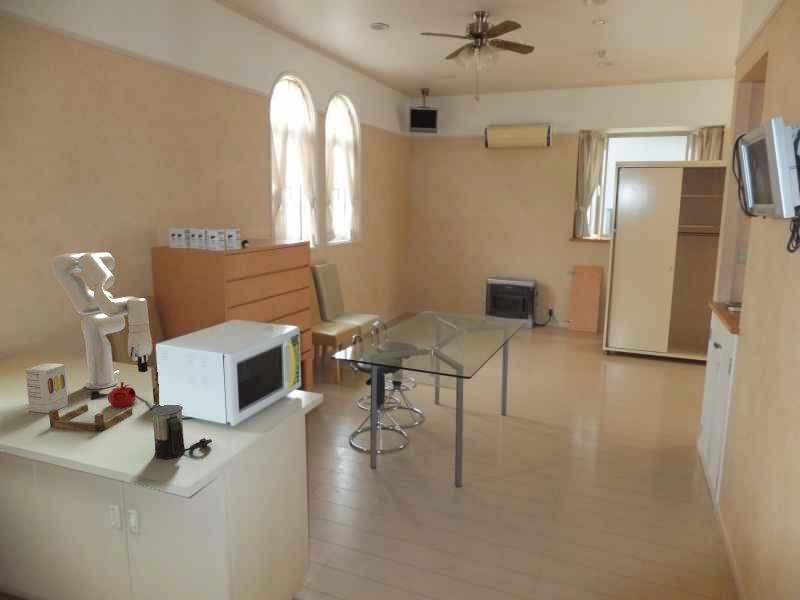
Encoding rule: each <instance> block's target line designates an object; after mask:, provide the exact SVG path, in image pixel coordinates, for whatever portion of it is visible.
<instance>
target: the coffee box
mask: <svg viewBox="0 0 800 600" xmlns="http://www.w3.org/2000/svg"><path fill="white" fill-rule="evenodd" d="M150 373H151V383H152V384H151V386H152V397H153V405H154V404H155V405H154V406H156V405H159V384H158V372H157V364H155V365H152V366H150Z"/></svg>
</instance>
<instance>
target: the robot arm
mask: <svg viewBox="0 0 800 600" xmlns="http://www.w3.org/2000/svg"><path fill="white" fill-rule="evenodd" d="M115 267H116V260H115V258H114V256H113V255H112V254H110V253H109V252H106V251H103V252H102V251H101V252H99V251H98V252H96V251H95V252H94V251H93V252H92V251H91V252H90V251H88V252H73V253H63V254H60V255H57V256H55V257H54V258H53V259H52V263H51V271H52V273H53V276H54V278H55V279H56V282H58V283H59V284H60V285H61V287H62V288H63V289H64V291H65V293H66V294H67V296H68V299H69V300H70V302H71V303H72V305H73V307H74V309H75V311H76V312H77V313H78V314H79V315H82V316H83V315H84V316H85V315H87V316H85V317H84V318H83V319H82V320H81V323H80V325H81V331H82V333H83V338H84V343H85V352H86V354H85V355H86V363H87V365H86V366H87V375H88V381H86V382H85V384H84V387H85V388H87V389H90V390H93V389H94V390H96V389H97V390H99V389H100V390H101V389H106V388H110V387H111V388H112V387H114V386H117V384H118V382H119V381H118V379H117V378H115V377H116V376H119V374H121V373H120V370H118V369H117V370H115V371H114V367H113V354H112V345H111V342H110V340H109V339H108V338H107V336H106V335H108V334H112V333H113V334H114V333H116V332H117V333H118V332H120V331H122V330H124V328H125V327H126V319H125V316H127V321H128V330H129V331H128V332H129V333H128V335H127V336H128V337H127V354H128V357H129V358H131V361H133V362H134V361H135V362H136V364H137V368H138V369H137V370H138V372H139V373H146V372H148V370H149V369H148V362H149V361H148V360H149V356H151V355H152V352H153V339H152V335H151V330H150V321H149V310H148V300H147V299H146V298H145V297H135V296H131V295H130V296H129V295H128V296H122V297H115V298H114V296H113V294H111V293H110V292H109V291H107V290H108V289H109V288H111V287H112V286H113V285H114V284H115V283H114V282H115V281H116V278H115V276H114V275H113V273H112V272H111V271H113V270H114V269H115ZM76 273H83V275H84V276H85V277H86V278H87V279H88V281H89V282H90V283H91V284H92V285H93V287H94V289H93V290H91V289H90V287H89V286H88V284H87V282H86V281H85V280H84V279H83V278H81V277H80V276H78V275H77V274H76Z"/></svg>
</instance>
